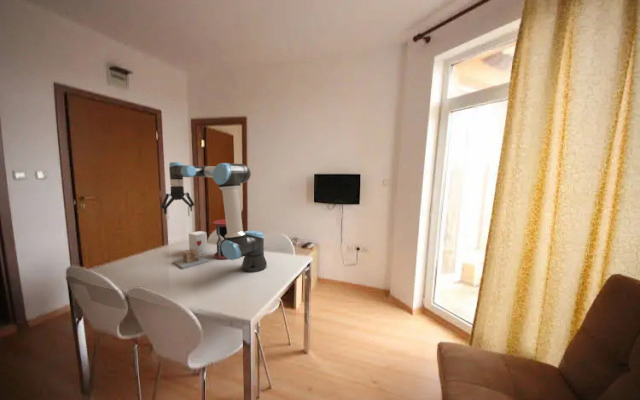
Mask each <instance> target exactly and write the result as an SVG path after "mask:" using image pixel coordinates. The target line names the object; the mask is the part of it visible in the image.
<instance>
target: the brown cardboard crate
mask: <svg viewBox="0 0 640 400" xmlns="http://www.w3.org/2000/svg"><path fill="white" fill-rule="evenodd" d="M199 255H200V254H199V251H197V250H195V249H192V250H189V249H188V250H183V251H182V259H183V261H185V262H187V263H189V262H194V261H198V260H199Z"/></svg>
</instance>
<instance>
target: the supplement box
mask: <svg viewBox="0 0 640 400" xmlns="http://www.w3.org/2000/svg"><path fill="white" fill-rule="evenodd" d="M207 238H208V236H207V232H206V231H202V230H199V231H193V232H189V233H188V248H189V249H188V250H192V249H195V250H197V251H199V255H201V254H205V253H208V242H207V241H208V239H207Z"/></svg>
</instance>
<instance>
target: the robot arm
mask: <svg viewBox="0 0 640 400" xmlns="http://www.w3.org/2000/svg"><path fill="white" fill-rule="evenodd" d="M168 165H169V167H168V168H169V170H168V172H169V183H170V193H165V195H164V199H163V200H162V202H161V204H160V206H159V207H160V209H163V214H164V215H165V219H166V220H169V218H170V217H169V206H170V205H171V204H172V203H173V202H174V201H177V200H179V201H180V200H181V201H183V203H185V204H186V205H187V216H188V217H191V216H192V213H191V212H192V211H193V207H194V206H195V203H194V201H193V199H192V197H191V196H190V193H189V192H184V191H185V188H184V178H212V180H213V181H214V183H215V184H217V186H218V188H219V189H220V190H221V192H222V200H223V209H224V217H225V219H226V227H227V234H226V235H225V241H224V242H223V243H222V245H221V250H222V253H223V255H224V256H225V257H226V258H227V259H226V260H229V261H235V260H238V259H240V258H243V261H242V264H241V270H242V271H244V272H248V273H255V272H256V273H257V272H260V271H261V272H262V271H263V270H265V269H267V268H268V267H267V266H268V264H267V260H266V257H265V252H264V251H265V247H264V246H265V245H264V244H265V240H264V239H265V237H264V233H263V232H262V231H259V230H245V231H244V228H243V222H242V220H243V219H242V211H241V201H240V192H239V189H240V188H241V187H242V186H241V184H243V183H244V184H245V183H247V182H248V181H249V180H250V178H251V175H252V172H251V169H250V168H249V167H248V166H247V165H245V164H243V163H234V162H233V163H231V162H220V163H218V164H217V165H216V166H212V165H211V166H210V165H191V164H183V163H182V162H178V161H177V162H176V161H175V162H173V161H172V162H171V161H170V162H169V164H168ZM185 197H186V198H187V199H186V198H185ZM169 198H170V199H169ZM168 199H169V200H168ZM225 219H224V220H225Z"/></svg>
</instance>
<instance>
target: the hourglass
mask: <svg viewBox="0 0 640 400" xmlns="http://www.w3.org/2000/svg"><path fill="white" fill-rule="evenodd" d="M212 225H213V226H215V230H216V236H217V239H218V240H217V242H216V252H215V253H214V254H213V256H214V259H216V260H228V259H227V258H226V257H225V256H224V255H223V253H222V250H221V245H222V243H223V242H224V241H225V235H226V234H227V227H226V219H218V220H214V221H213V222H212ZM222 238H223V240H222Z"/></svg>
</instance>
